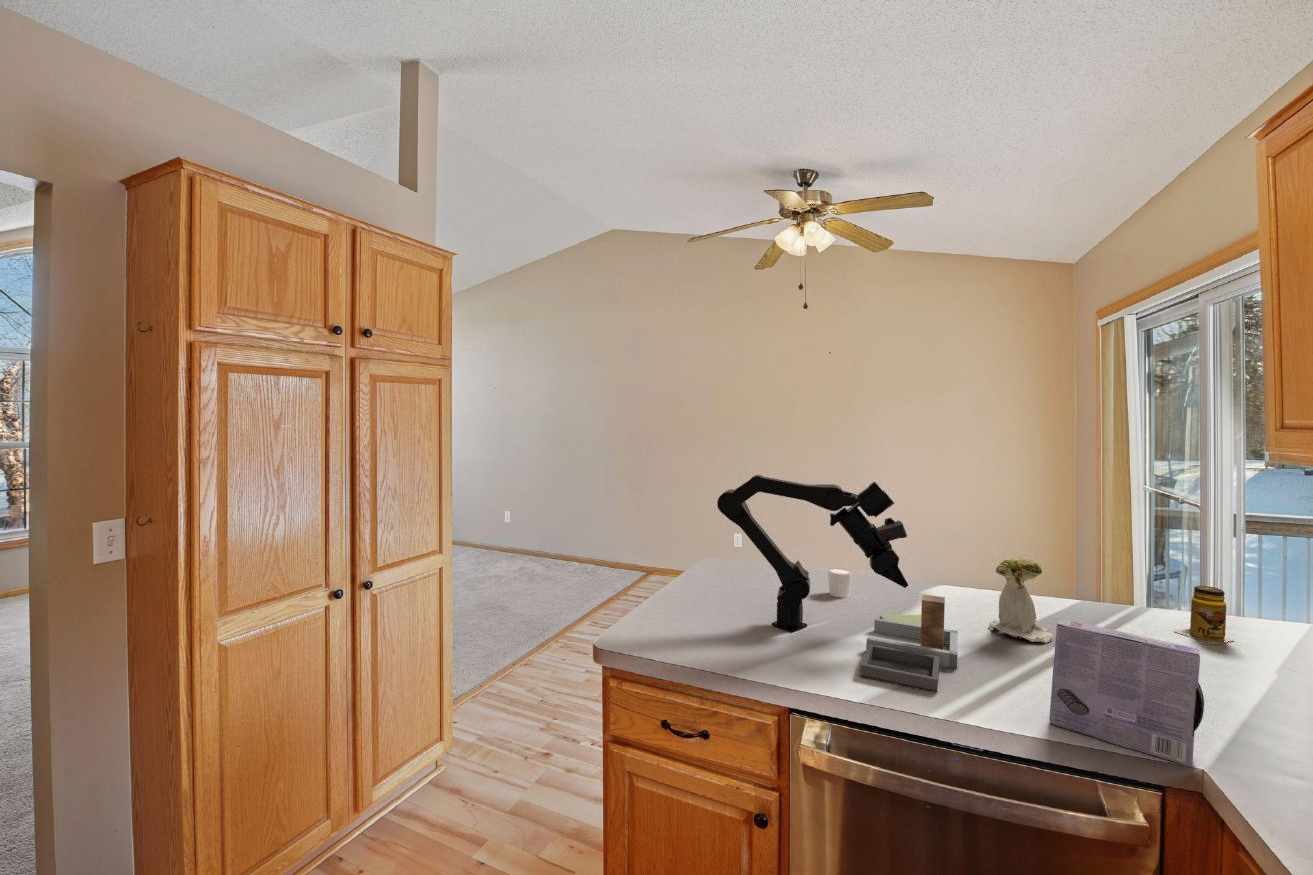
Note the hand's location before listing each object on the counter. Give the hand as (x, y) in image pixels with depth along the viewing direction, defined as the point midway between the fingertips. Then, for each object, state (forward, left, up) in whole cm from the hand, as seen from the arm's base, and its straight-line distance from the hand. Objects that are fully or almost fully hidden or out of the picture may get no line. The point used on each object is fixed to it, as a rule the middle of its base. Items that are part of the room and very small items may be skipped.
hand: (903, 580), depth 137 cm
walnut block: (-3, -8, -14) cm, 16 cm away
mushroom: (+24, -17, -14) cm, 33 cm away
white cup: (+17, +28, -14) cm, 35 cm away
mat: (+10, +3, -14) cm, 17 cm away
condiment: (+56, -46, -14) cm, 74 cm away
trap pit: (-19, -9, -14) cm, 25 cm away
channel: (-4, -5, -14) cm, 15 cm away
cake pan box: (-15, -44, -14) cm, 49 cm away
